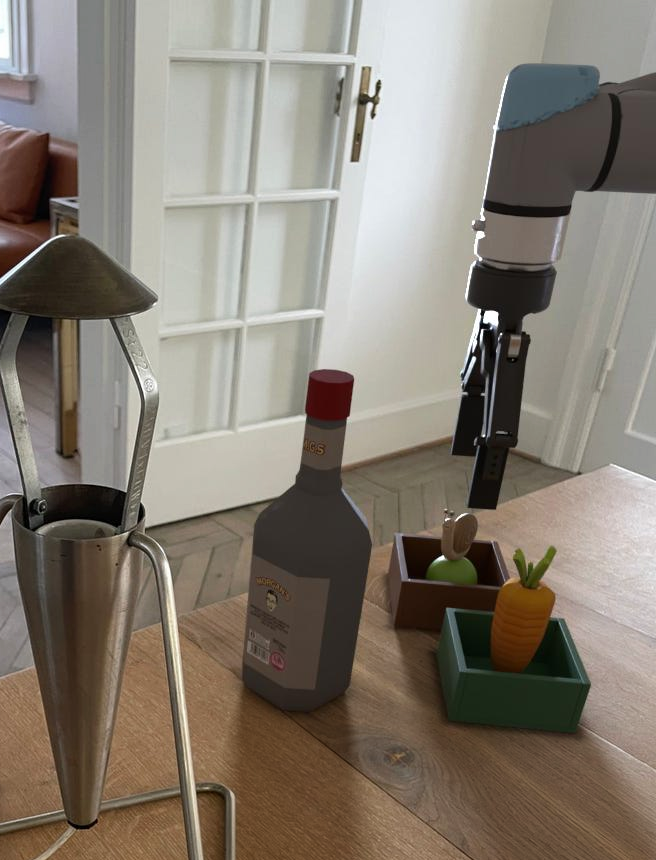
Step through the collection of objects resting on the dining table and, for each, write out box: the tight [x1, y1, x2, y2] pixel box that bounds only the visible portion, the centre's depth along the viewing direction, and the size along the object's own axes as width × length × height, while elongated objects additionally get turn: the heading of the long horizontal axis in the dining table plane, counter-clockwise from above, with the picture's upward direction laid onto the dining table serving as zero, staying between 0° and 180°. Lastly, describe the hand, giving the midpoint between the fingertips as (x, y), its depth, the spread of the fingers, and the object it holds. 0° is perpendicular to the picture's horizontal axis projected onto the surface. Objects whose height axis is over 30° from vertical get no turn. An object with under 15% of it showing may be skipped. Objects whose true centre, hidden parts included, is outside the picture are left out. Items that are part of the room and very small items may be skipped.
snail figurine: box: [426, 508, 479, 585], centre depth 103 cm, size 5×6×12 cm
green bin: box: [435, 608, 592, 734], centre depth 92 cm, size 11×11×6 cm
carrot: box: [491, 545, 558, 674], centre depth 89 cm, size 5×5×15 cm
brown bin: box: [387, 532, 511, 631], centre depth 106 cm, size 11×11×6 cm
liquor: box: [241, 368, 373, 713], centre depth 85 cm, size 9×9×30 cm
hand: (471, 480), depth 99 cm, fingers open, 13 cm apart
